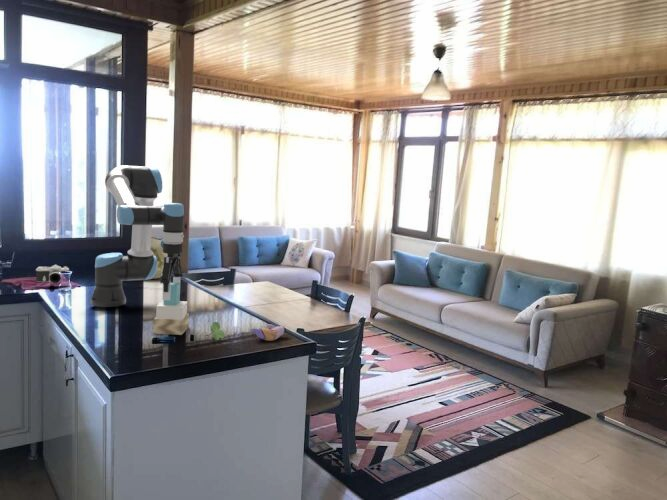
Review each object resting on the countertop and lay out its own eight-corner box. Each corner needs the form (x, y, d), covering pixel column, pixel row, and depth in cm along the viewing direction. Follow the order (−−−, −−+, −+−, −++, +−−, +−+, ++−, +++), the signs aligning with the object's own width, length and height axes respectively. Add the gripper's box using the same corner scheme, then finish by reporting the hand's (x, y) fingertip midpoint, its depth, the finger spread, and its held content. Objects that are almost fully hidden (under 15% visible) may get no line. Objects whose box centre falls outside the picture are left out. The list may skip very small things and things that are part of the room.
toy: (247, 323, 209) (279, 321, 219) (246, 339, 209) (279, 336, 219) (258, 327, 202) (292, 324, 211) (258, 343, 202) (292, 340, 211)
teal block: (163, 304, 210) (163, 284, 209) (167, 301, 215) (167, 282, 214) (176, 305, 210) (176, 285, 209) (179, 302, 215) (180, 282, 214)
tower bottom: (153, 333, 208) (153, 318, 208) (161, 326, 219) (161, 312, 219) (181, 335, 209) (182, 320, 208) (188, 327, 220) (188, 313, 219)
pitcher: (162, 281, 307) (163, 238, 304) (121, 279, 307) (121, 235, 304) (174, 275, 330) (175, 234, 326) (135, 272, 330) (136, 231, 327)
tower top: (156, 318, 208) (156, 306, 207) (161, 312, 218) (161, 300, 217) (182, 319, 209) (183, 307, 208) (186, 313, 219) (187, 301, 218)
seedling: (212, 348, 209) (225, 342, 206) (197, 341, 203) (209, 334, 201) (213, 333, 213) (225, 326, 211) (198, 324, 208) (211, 318, 206)
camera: (34, 284, 279) (34, 265, 278) (35, 281, 287) (35, 263, 286) (69, 284, 286) (69, 265, 285) (69, 280, 294) (69, 262, 293)
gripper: (173, 247, 197) (171, 303, 200) (190, 240, 222) (189, 290, 225) (152, 246, 197) (151, 302, 200) (172, 238, 222) (171, 289, 224)
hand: (171, 296), depth 212 cm, fingers open, 13 cm apart
